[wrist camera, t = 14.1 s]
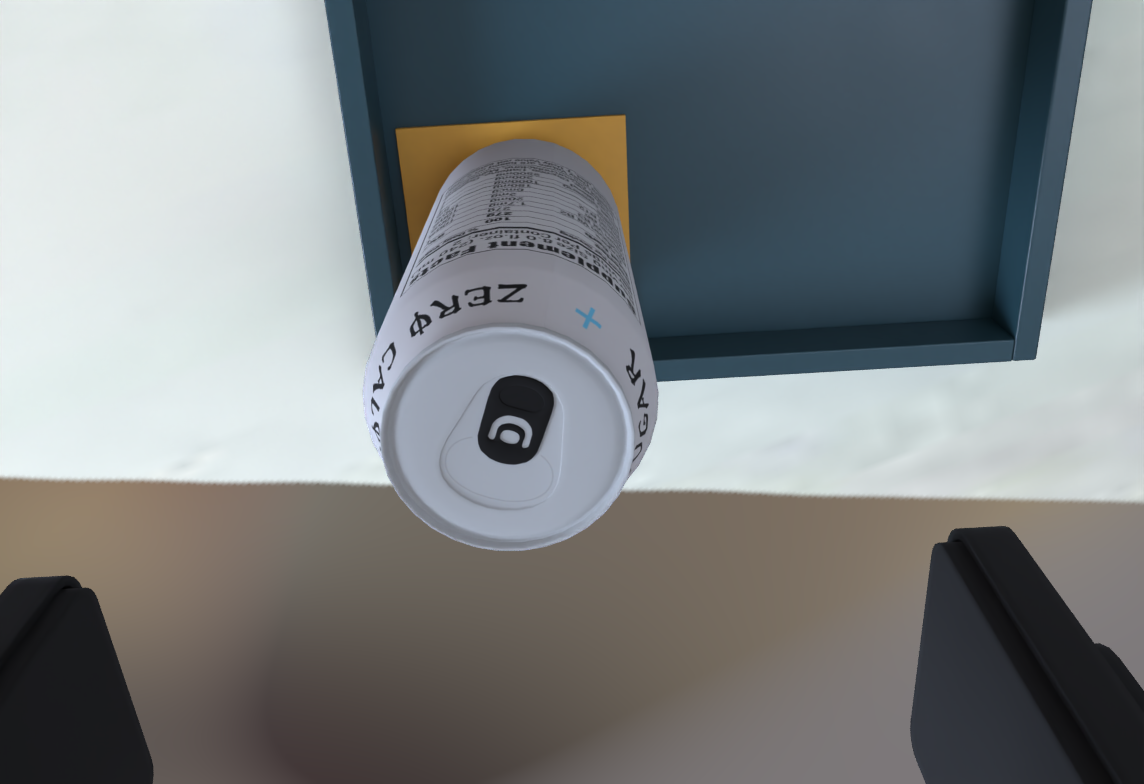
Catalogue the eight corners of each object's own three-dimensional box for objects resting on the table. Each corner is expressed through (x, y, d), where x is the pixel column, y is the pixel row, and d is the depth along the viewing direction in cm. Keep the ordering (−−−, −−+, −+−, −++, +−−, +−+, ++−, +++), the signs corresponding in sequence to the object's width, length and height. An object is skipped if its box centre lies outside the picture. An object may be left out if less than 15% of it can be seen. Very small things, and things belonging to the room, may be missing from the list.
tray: (1075, -175, 28) (1123, -184, 26) (1004, 331, 35) (1036, 360, 33) (324, -128, 28) (303, -133, 26) (396, 366, 35) (384, 398, 33)
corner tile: (624, 114, 31) (625, 115, 31) (632, 327, 34) (632, 329, 34) (396, 127, 31) (395, 128, 31) (423, 340, 34) (422, 342, 34)
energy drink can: (414, 284, 33) (317, 535, 19) (460, 107, 30) (386, 252, 17) (586, 333, 34) (609, 606, 20) (643, 165, 31) (713, 346, 18)
